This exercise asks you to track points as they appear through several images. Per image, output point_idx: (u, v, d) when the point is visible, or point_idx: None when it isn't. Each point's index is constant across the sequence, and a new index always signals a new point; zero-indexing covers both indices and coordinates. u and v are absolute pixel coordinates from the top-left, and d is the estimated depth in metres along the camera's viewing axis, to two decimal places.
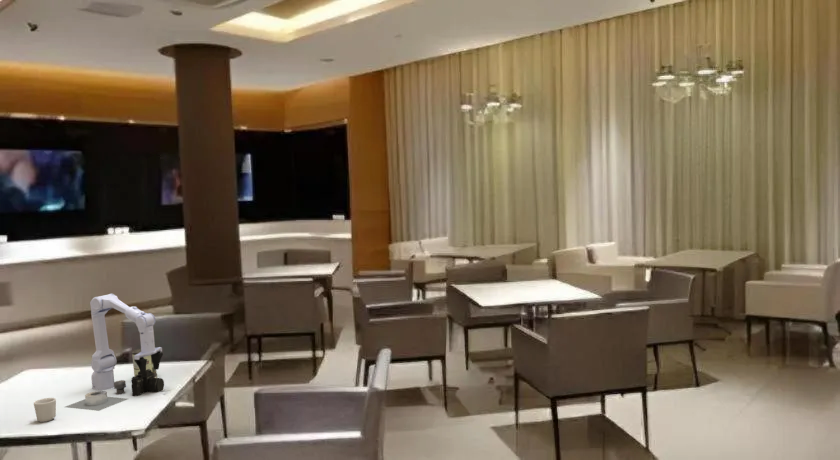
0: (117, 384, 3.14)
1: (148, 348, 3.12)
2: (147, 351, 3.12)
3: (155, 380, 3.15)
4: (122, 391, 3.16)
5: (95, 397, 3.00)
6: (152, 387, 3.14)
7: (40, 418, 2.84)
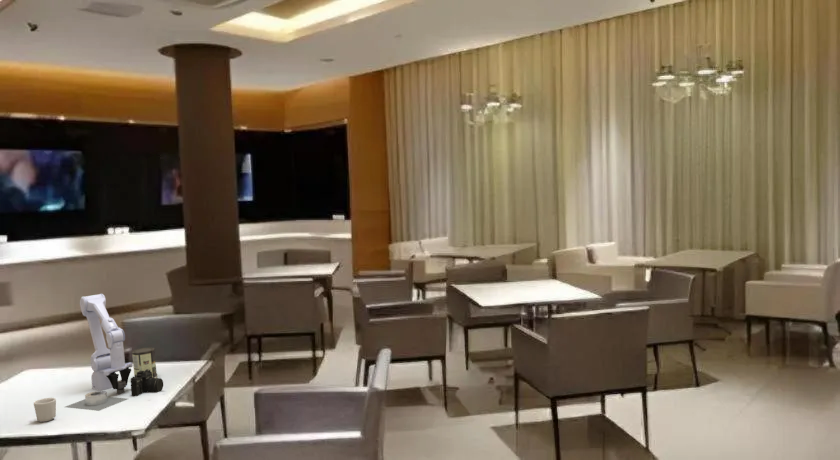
0: None
1: (117, 364, 3.13)
2: (117, 367, 3.13)
3: (154, 380, 3.15)
4: (122, 391, 3.16)
5: (95, 397, 3.00)
6: (152, 387, 3.14)
7: (40, 418, 2.84)
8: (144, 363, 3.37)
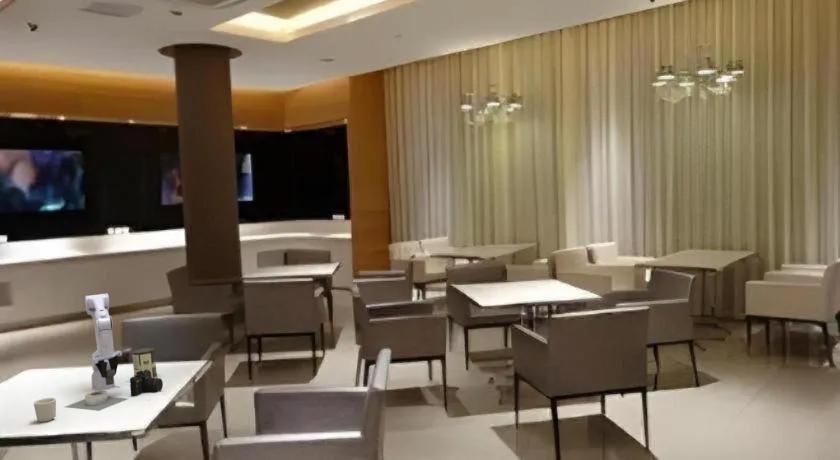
0: None
1: (106, 352, 3.07)
2: (105, 355, 3.07)
3: (154, 380, 3.15)
4: (111, 380, 3.10)
5: (95, 397, 3.00)
6: (151, 387, 3.14)
7: (40, 418, 2.84)
8: (144, 363, 3.37)
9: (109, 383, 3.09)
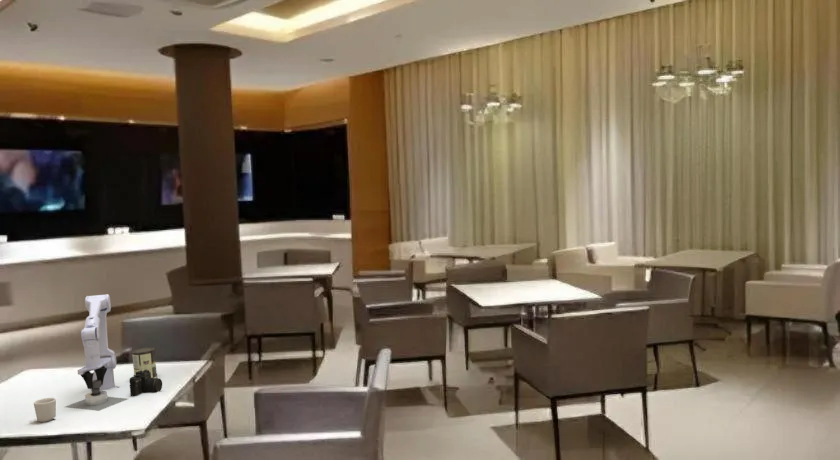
0: None
1: (92, 362, 3.00)
2: (91, 365, 3.00)
3: (153, 380, 3.15)
4: (97, 391, 3.03)
5: (95, 397, 3.00)
6: (151, 387, 3.14)
7: (40, 418, 2.84)
8: (144, 363, 3.37)
9: (95, 394, 3.02)
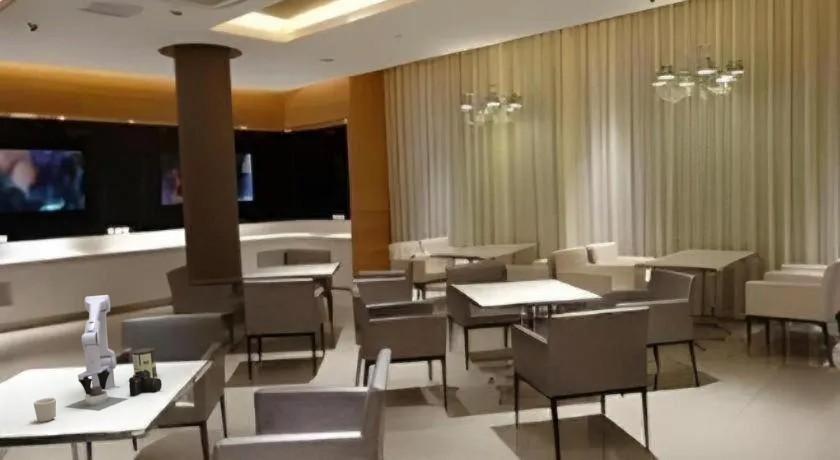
0: (93, 390, 3.01)
1: (93, 367, 3.00)
2: (92, 370, 3.00)
3: (153, 380, 3.15)
4: None
5: (95, 397, 3.00)
6: (150, 388, 3.14)
7: (40, 418, 2.84)
8: (144, 363, 3.37)
9: None
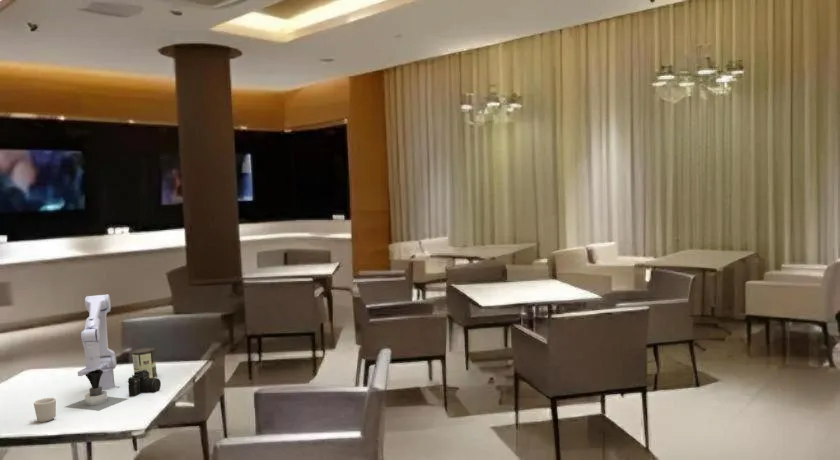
0: (93, 390, 3.01)
1: (92, 364, 3.00)
2: (92, 367, 3.00)
3: (152, 380, 3.15)
4: None
5: (95, 397, 3.00)
6: (149, 388, 3.14)
7: (40, 418, 2.84)
8: (144, 363, 3.37)
9: None
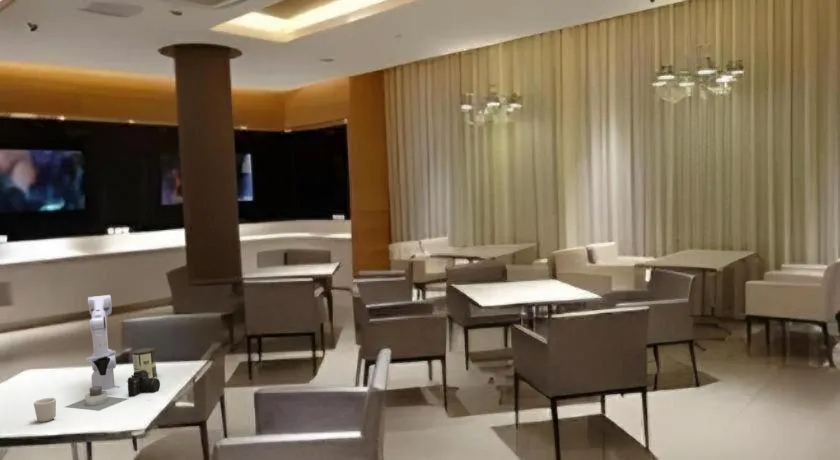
0: (93, 390, 3.01)
1: (100, 351, 3.10)
2: (99, 354, 3.10)
3: (151, 380, 3.15)
4: None
5: (95, 397, 3.00)
6: (149, 388, 3.14)
7: (40, 418, 2.84)
8: (144, 363, 3.37)
9: None
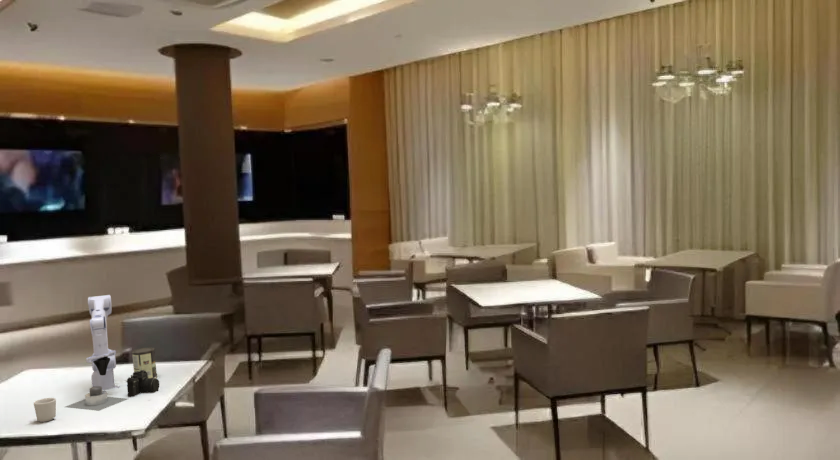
0: (93, 390, 3.01)
1: (100, 351, 3.10)
2: (99, 354, 3.10)
3: (151, 380, 3.15)
4: None
5: (95, 397, 3.00)
6: (148, 388, 3.14)
7: (40, 418, 2.84)
8: (144, 363, 3.37)
9: None
